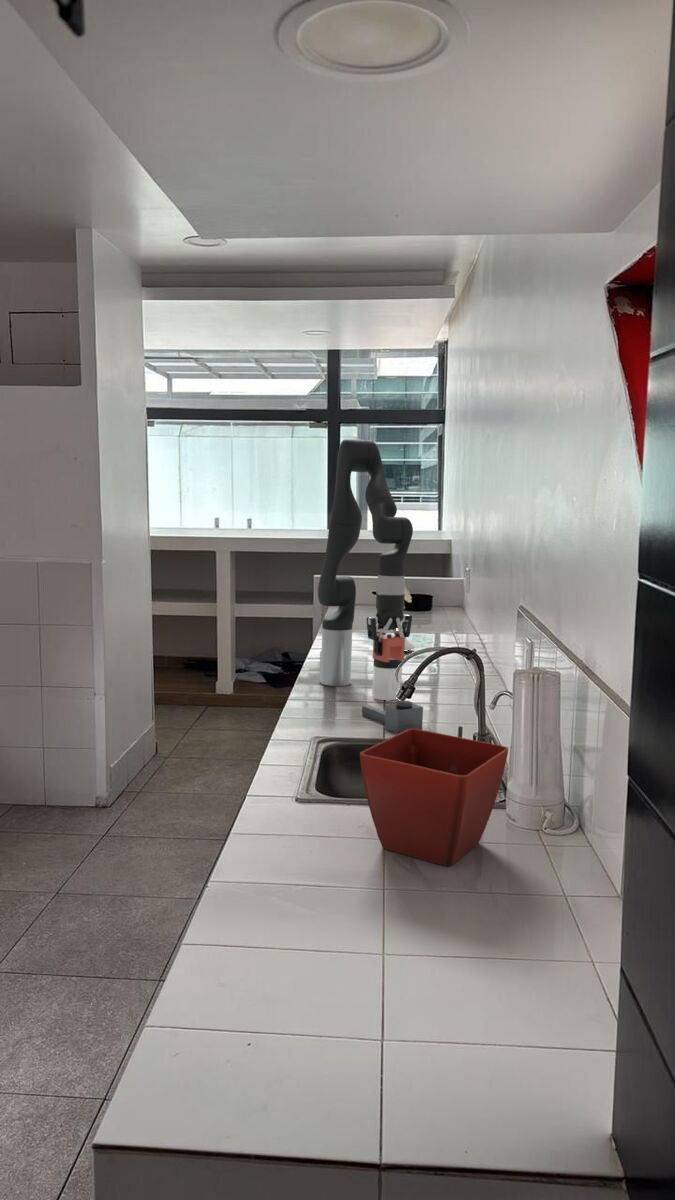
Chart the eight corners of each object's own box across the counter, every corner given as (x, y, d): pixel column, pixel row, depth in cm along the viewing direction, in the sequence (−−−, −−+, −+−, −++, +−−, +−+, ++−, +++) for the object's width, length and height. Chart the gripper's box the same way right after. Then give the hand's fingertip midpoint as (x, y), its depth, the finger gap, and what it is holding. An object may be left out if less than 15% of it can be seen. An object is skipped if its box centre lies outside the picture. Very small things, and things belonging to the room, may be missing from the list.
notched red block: (372, 658, 235) (373, 633, 234) (390, 656, 239) (391, 632, 238) (386, 662, 230) (387, 636, 229) (404, 660, 234) (405, 635, 233)
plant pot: (459, 881, 134) (465, 775, 132) (353, 851, 144) (356, 752, 142) (505, 841, 150) (510, 746, 148) (406, 816, 160) (410, 727, 158)
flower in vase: (415, 654, 322) (418, 587, 319) (384, 653, 322) (387, 586, 319) (413, 648, 335) (416, 583, 332) (383, 647, 335) (386, 582, 332)
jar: (382, 702, 247) (383, 660, 245) (365, 696, 254) (367, 655, 252) (407, 699, 252) (409, 658, 250) (390, 693, 259) (391, 653, 257)
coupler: (352, 716, 230) (353, 690, 230) (377, 712, 235) (378, 687, 234) (396, 734, 215) (398, 706, 214) (422, 730, 219) (423, 702, 218)
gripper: (402, 589, 239) (400, 650, 241) (360, 591, 231) (358, 654, 233) (420, 592, 233) (417, 654, 235) (377, 594, 225) (375, 658, 227)
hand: (388, 654), depth 234 cm, fingers closed on notched red block, 6 cm apart
